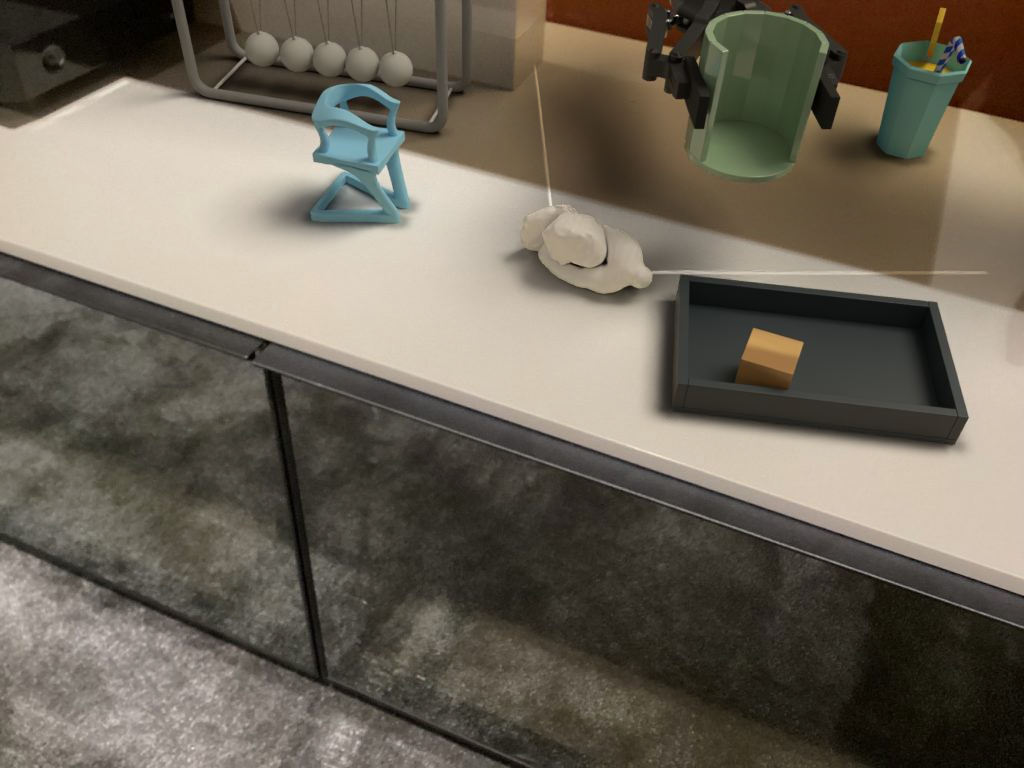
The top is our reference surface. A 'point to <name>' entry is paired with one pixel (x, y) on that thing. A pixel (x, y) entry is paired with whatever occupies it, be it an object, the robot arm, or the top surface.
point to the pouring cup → (756, 94)
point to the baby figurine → (585, 250)
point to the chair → (359, 155)
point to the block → (768, 360)
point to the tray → (818, 359)
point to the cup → (920, 92)
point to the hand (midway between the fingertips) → (766, 113)
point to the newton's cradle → (336, 63)
